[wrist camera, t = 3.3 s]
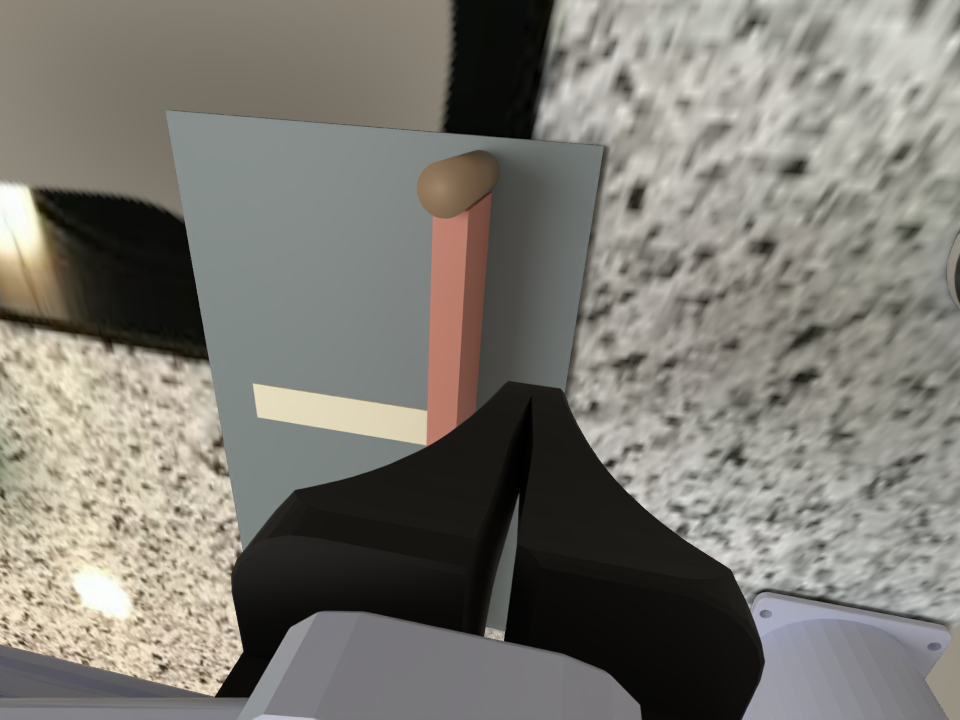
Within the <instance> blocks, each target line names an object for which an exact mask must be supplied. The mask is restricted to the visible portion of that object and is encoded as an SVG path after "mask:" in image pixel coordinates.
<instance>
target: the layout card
mask: <svg viewBox="0 0 960 720" xmlns="http://www.w3.org/2000/svg"><path fill="white" fill-rule="evenodd" d="M166 117H167V122H168V128H169V134H170V139H171V145H172V150H173V156H174V161H175V168H176V173H177V179H178V185H179V190H180V196H181V202H182V208H183V213H184V219H185V225H186V230H187V236H188V242H189V247H190V253H191V259H192V264H193V270H194V276H195V281H196V287H197V293H198V298H199V304H200V310H201V316H202V321H203V327H204V333H205V338H206V344H207V350H208V355H209V361H210V367H211V372H212V378H213V384H214V389H215V395H216V401H217V406H218V412H219V418H220V423H221V429H222V435H223V441H224V446H225V452H226V458H227V463H228V469H229V475H230V480H231V486H232V492H233V497H234V503H235V509H236V514H237V520H238V526H239V531H240V537H241V543H242V548H243V551H244V550H245V548H246V547H247V546H248V544H249V543H250V542H251V541H252V539H253V538H254V537H255V535H256V534H257V533H258V532H259V530H260V529H261V528H262V527H263V525H264V524H265V523H266V521H267V520H268V519H269V518H270V517H271V515H272V514H273V513H274V512H275V510H276V509H277V508H278V507H279V506H280V505H281V504H282V503H283V502H284V501H285V500H286V499H287V498H288V497H289V496H290V495H291V493H292V492H293V491H294V490H297V489H302V488H307V487H312V486H316V485H320V484H325V483H329V482H334V481H338V480H342V479H346V478H349V477H353V476H356V475H359V474H362V473H366V472H369V471H372V470H375V469H377V468H380V467H383V466H386V465H388V464H391V463H393V462H395V461H397V460H400V459H402V458H404V457H406V456H408V455H411V454H413V453H415V452H417V451H419V450H421V449H423V448H425V447H426V441H427V405H428V369H429V334H430V298H431V262H432V226H433V215H431V214H429V213H428V212H427V211H426V210H425V209H424V208H423V206H422V205H421V203H420V201H419V198H418V194H417V183H418V179H419V176H420V174H421V173H422V171H423V170H424V169H425V168H426V167H427V166H428V165H430V164H432V163H434V162H437V161H441V160H444V159H447V158H451V157H454V156H458V155H461V154H464V153H468V152H471V151H475V150H484V151H487V152H489V153H490V154H492V155H493V156H494V157H495V159H496V160H497V162H498V165H499V169H500V176H499V180H498V182H497V184H496V185H495V187H494V188H493V189H492V190H490V191H489V192H492V199H491V213H490V226H489V239H488V253H487V266H486V279H485V293H484V306H483V319H482V333H481V346H480V359H479V373H478V386H477V399H476V411H477V410H478V409H479V408H480V407H482V406H483V405H484V404H485V403H486V402H487V401H488V400H489V399H490V398H491V397H492V396H493V395H494V394H495V393H496V392H497V391H498V390H499V389H500V388H501V387H502V385H503V384H505V383H506V382H508V381H513V382H520V383H527V384H534V385H541V386H548V387H555V388H561V389H562V391H563V392H564V393H565V388H566V381H567V375H568V369H569V363H570V356H571V350H572V344H573V337H574V331H575V325H576V319H577V312H578V306H579V300H580V293H581V287H582V281H583V275H584V268H585V262H586V256H587V249H588V243H589V237H590V231H591V224H592V218H593V212H594V205H595V199H596V193H597V187H598V180H599V174H600V168H601V161H602V155H603V149H604V146H601V145H588V144H576V143H564V142H552V141H540V140H528V139H516V138H503V137H491V136H479V135H467V134H455V133H443V132H430V131H418V130H406V129H393V128H382V127H370V126H357V125H345V124H333V123H321V122H308V121H296V120H285V119H272V118H260V117H247V116H236V115H224V114H211V113H199V112H187V111H175V110H166ZM518 508H519V496H518V499H517V503H516V506H515V510H514V513H513V517H512V520H511V524H510V527H509V531H508V534H507V538H506V541H505V545H504V548H503V551H502V555H501V558H500V562H499V565H498V569H497V573H496V577H495V581H494V585H493V589H492V595H491V600H490V606H489V611H488V617H487V622H486V627H490V628H494V629H499V630H504V631H505V630H506V622H507V615H508V607H509V599H510V592H511V584H512V577H513V569H514V562H515V554H516V547H517V528H518Z"/></svg>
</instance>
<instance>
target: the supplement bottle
mask: <svg viewBox="0 0 960 720" xmlns="http://www.w3.org/2000/svg"><path fill="white" fill-rule="evenodd" d="M947 282H948V288H949V291H950V294H951V296H952V299H953V301H954V302H955V304H956V305H957V307H958V308H959V309H960V233H959V234H958V236H957V238H956V240H955V242H954V244H953V246H952V249H951V252H950V255H949V258H948V264H947Z"/></svg>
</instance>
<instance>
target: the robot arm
mask: <svg viewBox="0 0 960 720" xmlns="http://www.w3.org/2000/svg"><path fill="white" fill-rule="evenodd" d="M518 496H519V508H518V528H517V547H516V554H515V562H514V569H513V577H512V584H511V592H510V599H509V607H508V615H507V622H506V630H505V637H504V641H500V640H496V639H491V638H486V637H484V634H485V628H486V622H487V617H488V611H489V606H490V600H491V595H492V589H493V585H494V581H495V577H496V573H497V569H498V565H499V562H500V558H501V555H502V551H503V548H504V545H505V541H506V538H507V534H508V531H509V527H510V524H511V520H512V517H513V513H514V510H515V506H516V503H517V499H518ZM231 583H232V596H233V601H234V606H235V611H236V616H237V621H238V626H239V631H240V636H241V641H242V646H243V651H244V652H243V653H242V655H241V656H240V658H239V660H238V661H237V663H236V664H235V666H234V667H233V669H232V671H231V672H230V674H229V675H228V677H227V678H226V680H225V682H224V683H223V685H222V686H221V688H220V689H219V691H218V693H217V694H216V696H215V697H213V696H209V695H205V694H201V693H197V692H193V691H189V690H185V689H181V688H176V687H172V686H168V685H164V684H160V683H156V682H152V681H148V680H144V679H140V678H136V677H132V676H128V675H123V674H119V673H115V672H111V671H107V670H103V669H99V668H95V667H91V666H87V665H83V664H79V663H75V662H70V661H66V660H62V659H58V658H54V657H50V656H46V655H42V654H38V653H34V652H30V651H26V650H22V649H17V648H13V647H9V646H5V645H1V644H0V720H949V719H948V718H947V716H946V714H945V713H944V711H943V709H942V708H941V706H940V704H939V703H938V701H937V699H936V698H935V696H934V695H933V693H932V691H931V689H930V688H929V686H928V684H927V683H926V681H925V678H926V676H927V675H928V673H929V672H930V671H931V669H932V668H933V666H934V665H935V663H936V662H937V660H938V659H939V658H940V656H941V655H942V653H943V652H944V650H945V649H946V647H947V646H948V645H949V643H950V642H951V640H952V635H951V633H950V632H949V630H948V629H947V628H946V627H945V626H943V625H940V624H936V623H930V622H925V621H920V620H914V619H909V618H904V617H898V616H893V615H888V614H882V613H877V612H872V611H866V610H861V609H856V608H850V607H845V606H840V605H835V604H829V603H824V602H819V601H813V600H808V599H803V598H797V597H792V596H787V595H781V594H776V593H771V592H763V593H760V594H758V595H757V596H756V598H755V600H754V602H753V604H752V607H751V609H749V607H748V604H747V602H746V600H745V598H744V596H743V594H742V592H741V590H740V588H739V586H738V584H737V582H736V580H735V577H734V575H733V573H732V571H731V569H729V568H728V567H726V566H724V565H723V564H721V563H720V562H718V561H717V560H715V559H713V558H712V557H710V556H709V555H707V554H706V553H704V552H702V551H701V550H699V549H698V548H696V547H694V546H693V545H691V544H690V543H688V542H687V541H685V540H684V539H682V538H681V537H680V536H678V535H677V534H676V533H674V532H673V531H672V530H670V529H669V528H668V527H666V526H665V525H664V524H663V523H661V522H660V521H659V520H658V519H656V518H655V517H654V516H653V515H651V514H650V513H649V512H648V511H647V510H646V509H644V508H643V507H642V506H641V505H640V504H639V503H638V502H637V501H636V500H635V499H634V498H633V497H632V496H631V495H630V494H628V493H627V492H626V491H625V490H624V489H623V487H622V486H621V485H620V484H619V483H618V482H617V481H616V480H615V479H614V478H613V476H612V475H611V474H610V473H609V472H608V471H607V469H606V468H605V467H604V465H603V464H602V463H601V461H600V460H599V458H598V457H597V456H596V454H595V453H594V451H593V450H592V448H591V447H590V445H589V443H588V442H587V440H586V439H585V437H584V435H583V433H582V431H581V430H580V428H579V426H578V424H577V422H576V420H575V418H574V416H573V414H572V412H571V410H570V407H569V405H568V402H567V400H566V397H565V393H564V392H563V391H562V389H561V388H555V387H548V386H541V385H534V384H527V383H520V382H513V381H508V382H506V383H505V384H503V385H502V387H501V388H500V389H499V390H498V391H497V392H496V393H495V394H494V395H493V396H492V397H491V398H490V399H489V400H488V401H487V402H486V403H485V404H484V405H483V406H482V407H480V408H479V409H478V410H477V411H476V412H475V413H474V414H472V415H471V416H470V417H469V418H468V419H467V420H465V421H464V422H463V423H461V424H460V425H459V426H457V427H456V428H455V429H453V430H452V431H451V432H449V433H448V434H446V435H445V436H443V437H442V438H440V439H439V440H437V441H436V442H434V443H432V444H430V445H429V446H427V447H425V448H423V449H421V450H419V451H417V452H415V453H413V454H411V455H408V456H406V457H404V458H402V459H400V460H397V461H395V462H393V463H391V464H388V465H386V466H383V467H380V468H377V469H375V470H372V471H369V472H366V473H362V474H359V475H356V476H353V477H349V478H346V479H342V480H338V481H334V482H329V483H325V484H320V485H316V486H312V487H307V488H302V489H297V490H294V491H293V492H292V493H291V495H290V496H289V497H288V498H287V499H286V500H285V501H284V502H283V503H282V504H281V505H280V506H279V507H278V508H277V509H276V510H275V512H274V513H273V514H272V515H271V517H270V518H269V519H268V520H267V521H266V523H265V524H264V525H263V527H262V528H261V529H260V530H259V532H258V533H257V534H256V535H255V537H254V538H253V539H252V541H251V542H250V543H249V544H248V546H247V547H246V548H245V550H244V551H243V552H242V553H241V555H240V556H239V557H238V559H237V561H236V563H235V566H234V569H233V571H232V574H231ZM763 610H765V611H763Z"/></svg>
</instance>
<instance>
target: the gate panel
mask: <svg viewBox="0 0 960 720" xmlns="http://www.w3.org/2000/svg"><path fill="white" fill-rule="evenodd" d="M499 176H500V169H499V165H498V162H497V160H496V159H495V157H494V156H493V155H492V154H490V153H489V152H487V151H484V150H475V151H471V152H468V153H464V154H461V155H458V156H454V157H451V158H447V159H444V160H441V161H437V162H434V163H432V164H430V165H428V166H427V167H426V168H425V169H424V170H423V171H422V173H421V174H420V176H419V179H418V183H417V194H418V198H419V201H420V203H421V205H422V206H423V208H424V209H425V210H426V211H427V212H428V213H429V214H431V215H433V226H432V262H431V298H430V334H429V369H428V405H427V441H426V447H427V446H429V445H430V444H432V443H434V442H436V441H437V440H439V439H440V438H442V437H443V436H445V435H446V434H448V433H449V432H451V431H452V430H453V429H455V428H456V427H457V426H459V425H460V424H461V423H463V422H464V421H465V420H467V419H468V418H469V417H470V416H471V415H472V414H474V413H475V412H476V399H477V386H478V373H479V359H480V346H481V333H482V319H483V306H484V293H485V279H486V266H487V253H488V239H489V226H490V213H491V199H492V192H489V191H490V190H492V189H493V188H494V187H495V185H496V184H497V182H498V180H499Z"/></svg>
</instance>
